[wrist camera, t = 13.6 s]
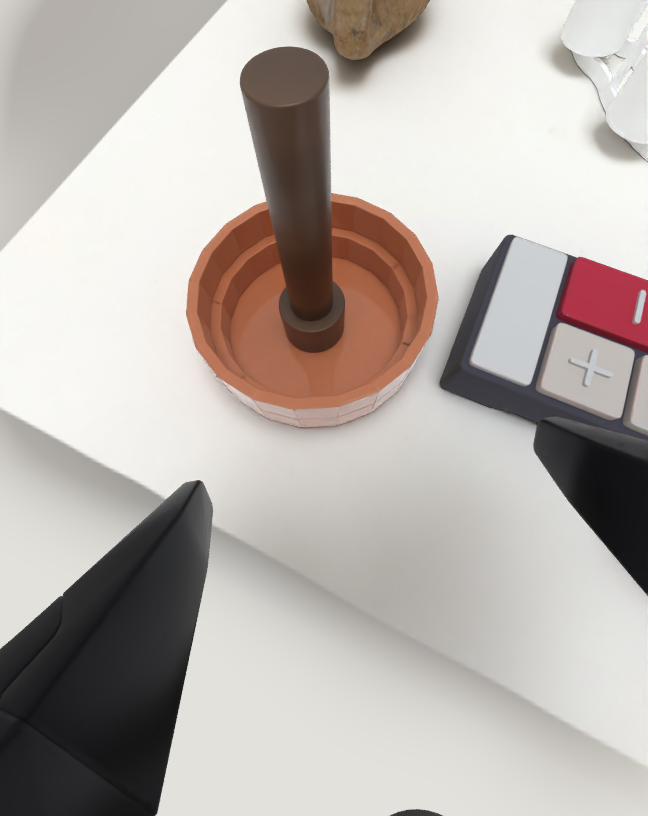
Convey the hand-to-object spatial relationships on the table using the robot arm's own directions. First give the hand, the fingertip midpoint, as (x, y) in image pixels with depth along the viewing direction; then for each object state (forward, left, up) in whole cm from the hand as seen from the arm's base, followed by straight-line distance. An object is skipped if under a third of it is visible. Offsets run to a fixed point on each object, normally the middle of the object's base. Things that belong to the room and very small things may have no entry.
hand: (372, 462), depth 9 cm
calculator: (+13, -13, -14) cm, 23 cm away
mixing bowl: (+11, +5, -14) cm, 18 cm away
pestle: (+11, +5, -13) cm, 18 cm away
